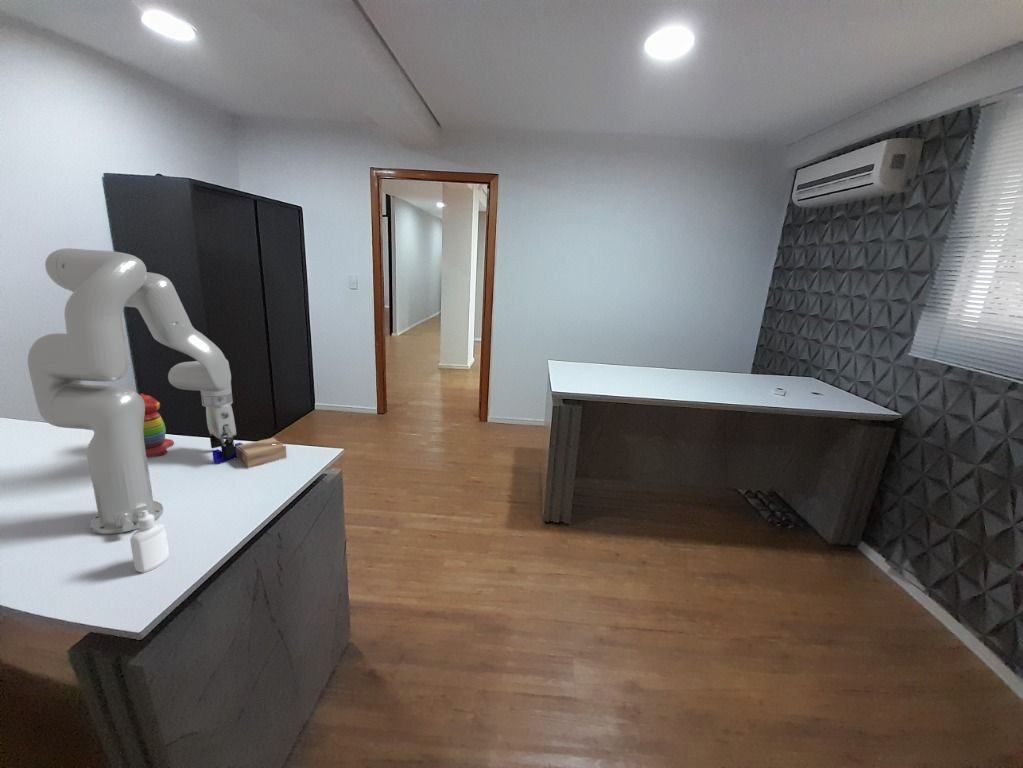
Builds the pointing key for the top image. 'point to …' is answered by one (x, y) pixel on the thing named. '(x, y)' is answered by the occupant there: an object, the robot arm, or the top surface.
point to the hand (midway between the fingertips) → (222, 451)
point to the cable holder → (218, 455)
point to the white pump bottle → (149, 544)
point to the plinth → (260, 452)
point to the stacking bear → (154, 429)
